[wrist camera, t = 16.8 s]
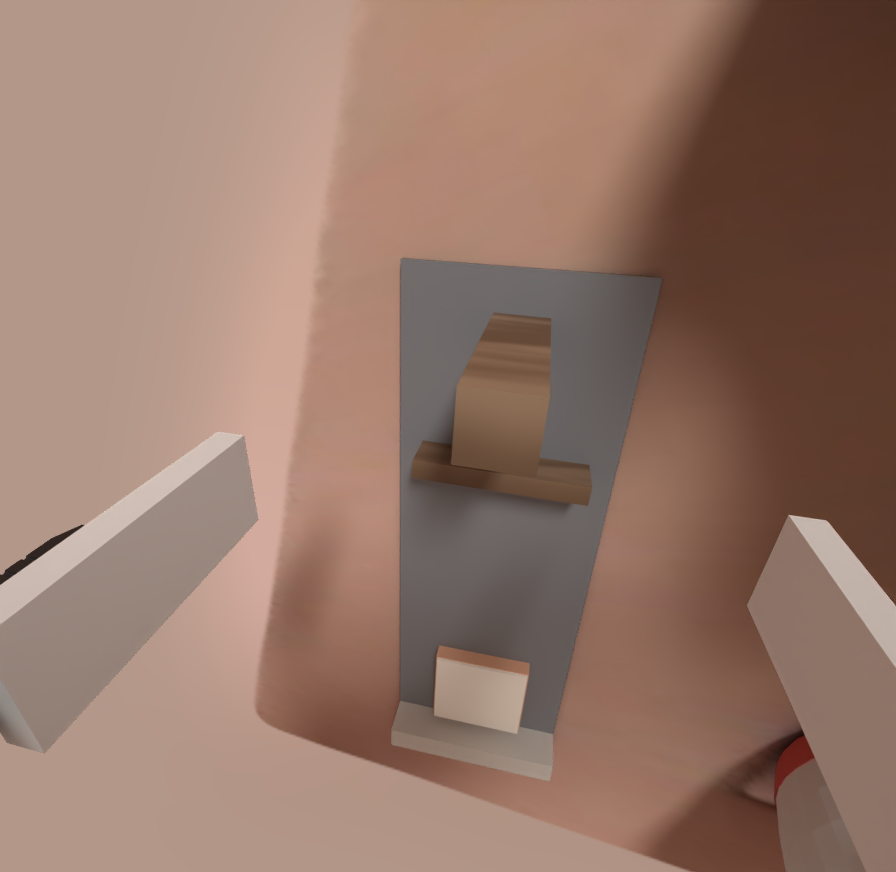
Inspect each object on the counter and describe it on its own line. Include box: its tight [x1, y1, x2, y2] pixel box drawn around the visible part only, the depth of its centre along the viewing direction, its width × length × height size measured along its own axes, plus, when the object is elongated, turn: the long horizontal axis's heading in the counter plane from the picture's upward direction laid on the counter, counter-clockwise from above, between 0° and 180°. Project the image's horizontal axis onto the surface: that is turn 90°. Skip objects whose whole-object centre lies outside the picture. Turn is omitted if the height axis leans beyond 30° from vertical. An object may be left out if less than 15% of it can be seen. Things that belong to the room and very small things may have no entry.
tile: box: [433, 645, 530, 734], centre depth 38 cm, size 7×7×1 cm
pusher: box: [412, 312, 592, 506], centre depth 22 cm, size 9×10×11 cm
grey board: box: [391, 258, 663, 782], centre depth 32 cm, size 38×13×3 cm, turn 177°
